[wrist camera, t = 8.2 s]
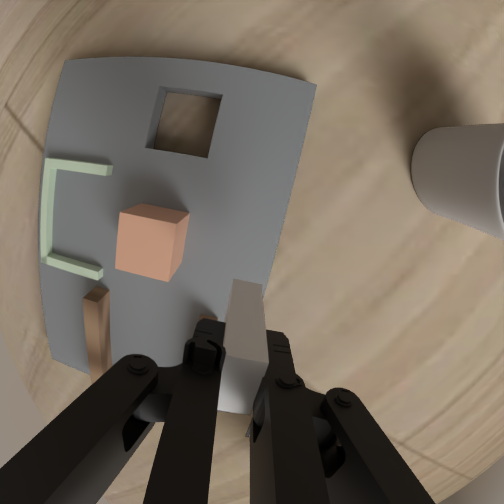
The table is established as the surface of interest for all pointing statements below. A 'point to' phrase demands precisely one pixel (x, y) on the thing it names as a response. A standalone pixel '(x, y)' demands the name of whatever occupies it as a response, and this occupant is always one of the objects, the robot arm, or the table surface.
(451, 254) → the table surface
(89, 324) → the cubby
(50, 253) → the green u-shaped frame
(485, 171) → the mug
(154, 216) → the cube
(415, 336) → the table surface
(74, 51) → the table surface
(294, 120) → the deck
